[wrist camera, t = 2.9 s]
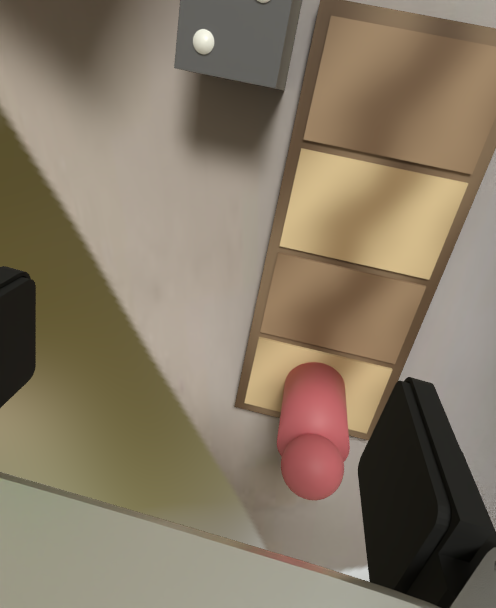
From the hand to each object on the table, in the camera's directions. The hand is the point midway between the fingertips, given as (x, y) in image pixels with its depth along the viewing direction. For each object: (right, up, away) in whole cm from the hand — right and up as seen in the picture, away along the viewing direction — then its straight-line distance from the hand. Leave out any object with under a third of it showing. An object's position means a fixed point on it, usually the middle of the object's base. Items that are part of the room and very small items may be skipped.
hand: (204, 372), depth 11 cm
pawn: (+6, -4, +21) cm, 22 cm away
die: (+1, +17, +13) cm, 21 cm away
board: (+8, +5, +17) cm, 20 cm away
